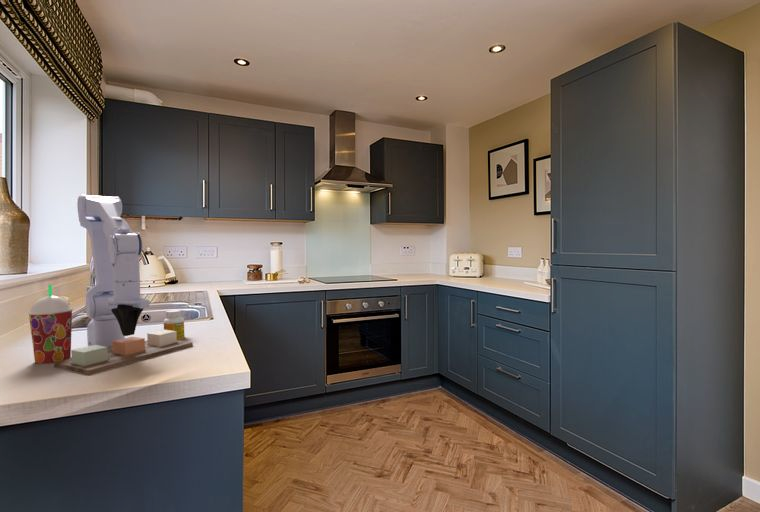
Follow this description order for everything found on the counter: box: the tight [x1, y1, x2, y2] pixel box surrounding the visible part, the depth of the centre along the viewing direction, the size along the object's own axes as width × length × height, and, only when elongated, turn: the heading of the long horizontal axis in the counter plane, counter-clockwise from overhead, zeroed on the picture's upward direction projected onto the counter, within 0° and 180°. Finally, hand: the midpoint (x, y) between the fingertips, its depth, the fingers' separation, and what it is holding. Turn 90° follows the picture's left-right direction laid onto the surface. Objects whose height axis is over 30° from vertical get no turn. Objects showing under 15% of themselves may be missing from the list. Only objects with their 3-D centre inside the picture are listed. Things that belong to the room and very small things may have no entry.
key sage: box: [71, 345, 109, 366], centre depth 93 cm, size 5×5×4 cm
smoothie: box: [27, 284, 74, 365], centre depth 98 cm, size 8×8×20 cm
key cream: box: [146, 329, 177, 347], centre depth 109 cm, size 5×5×4 cm
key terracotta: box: [112, 336, 146, 356], centre depth 101 cm, size 5×5×4 cm
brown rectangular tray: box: [53, 339, 194, 376], centre depth 101 cm, size 14×26×2 cm, turn 154°
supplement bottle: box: [163, 309, 185, 341], centre depth 119 cm, size 5×5×10 cm
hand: (128, 335), depth 101 cm, fingers closed
